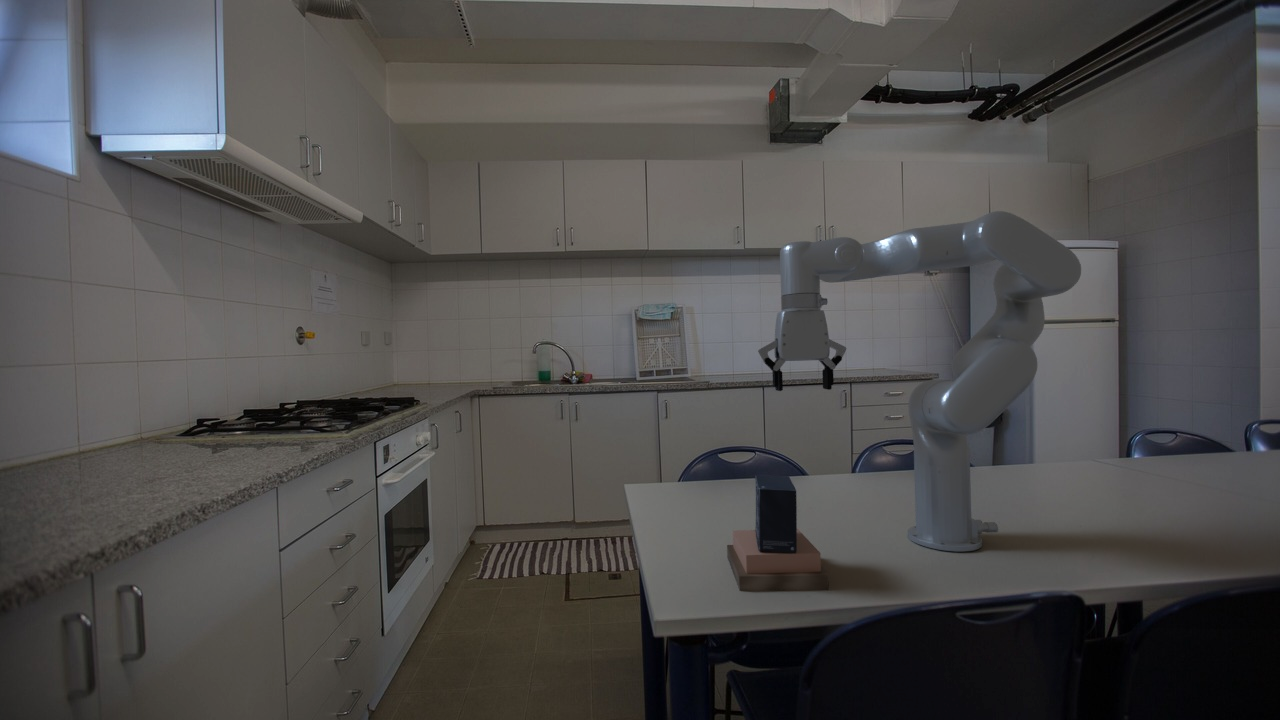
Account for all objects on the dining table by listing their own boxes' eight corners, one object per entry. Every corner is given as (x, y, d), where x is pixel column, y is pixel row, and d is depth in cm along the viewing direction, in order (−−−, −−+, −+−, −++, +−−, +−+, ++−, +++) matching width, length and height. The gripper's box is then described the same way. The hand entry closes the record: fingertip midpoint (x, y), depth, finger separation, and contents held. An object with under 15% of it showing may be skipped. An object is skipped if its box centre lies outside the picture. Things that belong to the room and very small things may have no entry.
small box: (799, 554, 83) (798, 489, 83) (758, 552, 85) (756, 488, 84) (791, 532, 94) (790, 474, 94) (754, 530, 95) (753, 473, 95)
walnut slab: (803, 559, 96) (802, 543, 96) (828, 593, 82) (827, 575, 82) (727, 560, 97) (727, 544, 97) (739, 595, 83) (739, 576, 83)
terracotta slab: (798, 544, 96) (797, 528, 96) (820, 571, 84) (820, 553, 84) (733, 546, 96) (732, 530, 96) (746, 573, 84) (746, 555, 84)
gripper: (837, 305, 108) (839, 387, 108) (753, 308, 108) (756, 390, 108) (851, 301, 100) (853, 389, 100) (761, 304, 101) (764, 392, 101)
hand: (803, 389), depth 104 cm, fingers open, 9 cm apart
